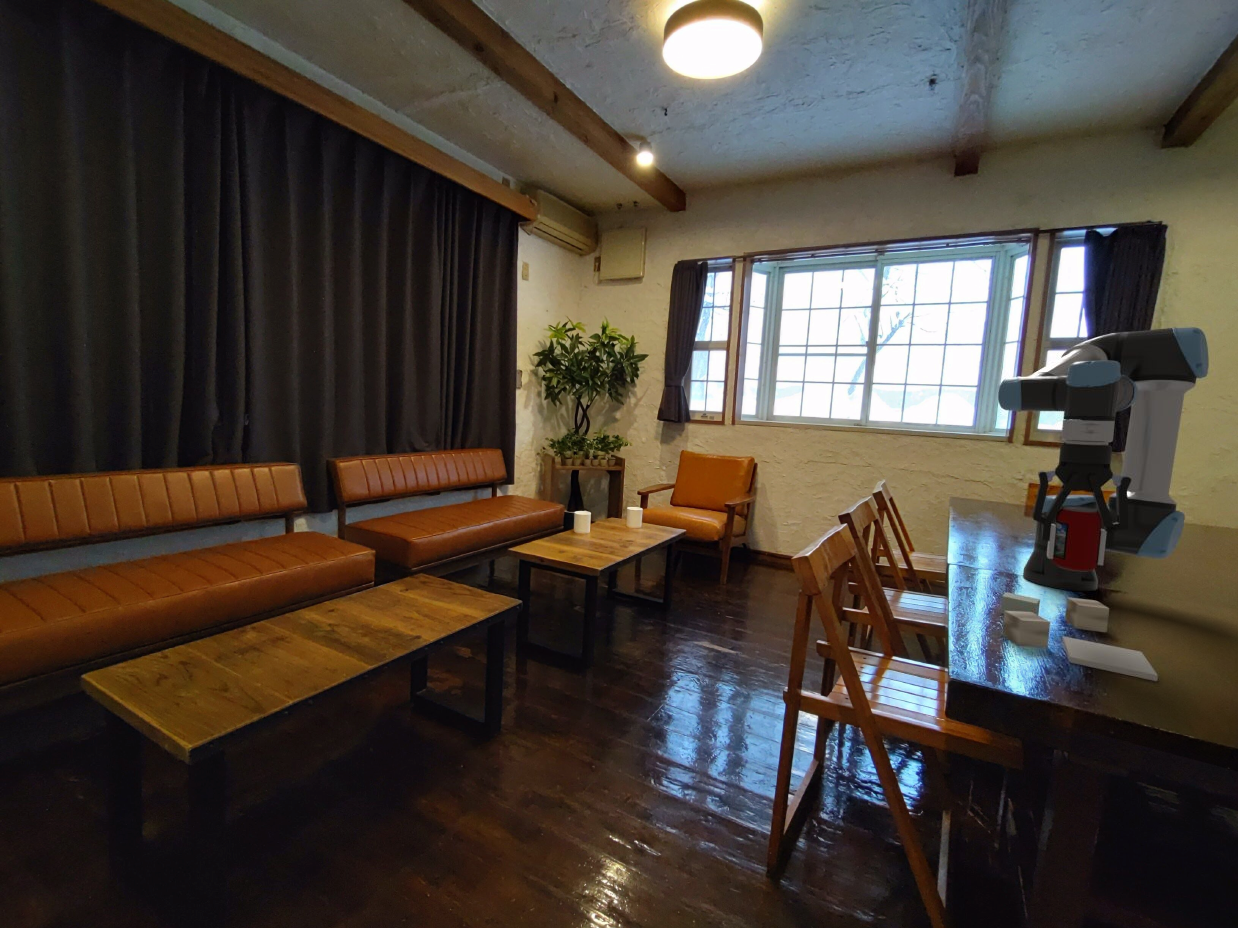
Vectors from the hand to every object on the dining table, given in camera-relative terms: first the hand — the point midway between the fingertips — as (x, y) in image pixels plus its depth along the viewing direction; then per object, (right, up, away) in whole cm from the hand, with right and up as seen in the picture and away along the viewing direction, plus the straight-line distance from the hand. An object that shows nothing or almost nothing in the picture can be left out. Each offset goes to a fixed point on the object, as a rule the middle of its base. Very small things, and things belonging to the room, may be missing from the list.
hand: (1074, 560), depth 106 cm
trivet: (-3, -16, -10) cm, 19 cm away
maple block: (-12, -15, -3) cm, 20 cm away
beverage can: (0, -2, 0) cm, 2 cm away
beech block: (+7, -15, +6) cm, 17 cm away
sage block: (-3, -14, +11) cm, 18 cm away
